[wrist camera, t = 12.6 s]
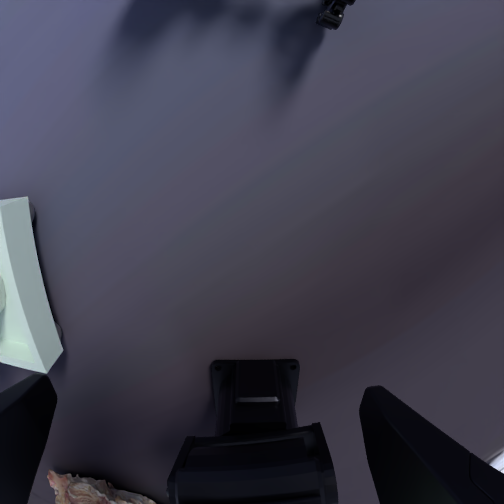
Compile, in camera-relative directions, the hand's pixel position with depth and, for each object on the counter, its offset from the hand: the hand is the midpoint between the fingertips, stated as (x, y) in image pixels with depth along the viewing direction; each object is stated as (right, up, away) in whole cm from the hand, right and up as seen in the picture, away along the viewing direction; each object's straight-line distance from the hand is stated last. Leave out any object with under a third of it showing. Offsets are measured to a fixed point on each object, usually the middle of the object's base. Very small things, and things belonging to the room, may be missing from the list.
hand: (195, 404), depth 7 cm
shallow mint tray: (-19, +2, +13) cm, 23 cm away
